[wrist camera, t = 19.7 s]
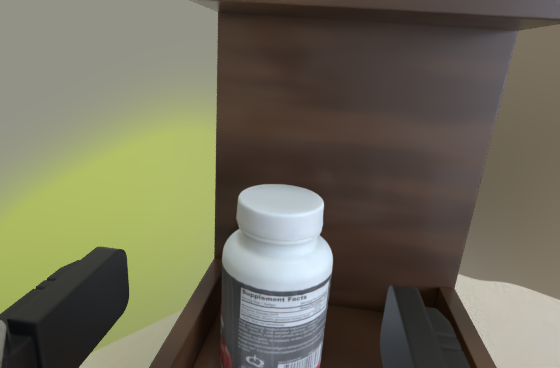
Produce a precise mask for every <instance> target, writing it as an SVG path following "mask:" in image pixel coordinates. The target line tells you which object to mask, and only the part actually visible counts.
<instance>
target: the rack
mask: <svg viewBox="0 0 560 368" xmlns="http://www.w3.org/2000/svg"><path fill="white" fill-rule="evenodd" d="M191 1H193V2H196V3H198V4H200V5H203V6H205V7H207V8H210V9H212V10H215V11H217V12H218V59H217V60H218V62H217V123H216V125H217V126H216V127H217V128H216V188H215V252H214V260H213V262H212V263H211V265H210V266H209V268H208V270H207V271H206V273H205V275H204V276H203V278H202V280H201V281H200V283H199V285H198V286H197V288H196V290H195V291H194V293H193V295H192V296H191V298H190V300H189V301H188V303H187V305H186V307H185V308H184V310H183V311H182V313H181V315H180V316H179V318H178V320H177V321H176V323H175V325H174V326H173V328H172V330H171V332H170V333H169V335H168V337H167V338H166V340H165V342H164V343H163V345H162V347H161V348H160V350H159V352H158V353H157V355H156V357H155V358H154V360H153V362H152V363H151V365H150V367H149V368H221V362H220V342H221V332H220V331H221V304H222V255H223V248H224V245H225V243H226V241H227V240H228V238H229V237H230V236H231V235H232V234H233V233H234V232H235V231H237V230H238V229H239V226H238V222H237V219H236V216H237V206H238V197H239V195H240V193H241V192H242V191H243V190H245V189H247V188H250V187H253V186H257V185H263V184H285V185H292V186H297V187H301V188H305V189H308V190H310V191H313V192H314V193H316V194H318V195H319V196H320V197H321V198H322V199H323V202H324V210H323V226H322V231H321V233H320V236H321V237H322V238H323V239H324V240H325V241H326V242H327V243H328V245H329V247H330V249H331V251H332V255H333V266H332V274H331V282H330V291H329V299H328V306H327V313H326V320H325V328H324V336H323V344H322V353H321V361H320V367H319V368H383V364H382V358H381V352H380V333H381V326H382V321H383V315H384V310H385V304H386V299H387V294H388V289H389V286H390V285H398V286H406V287H414V288H418V290H419V292H420V295H421V297H422V300H423V302H424V305H425V307H429V308H436V309H437V310H438V311H439V312H440V313H441V314H442V315H443V316H444V317H445V318H446V319H447V320H448V321H449V322H450V323H451V326H452V328H453V330H454V332H455V334H456V339H458V341H459V343H460V346H461V348H462V351H463V352H464V354H465V357H466V359H467V361H468V363H469V365H470V368H496V366H495V364H494V362H493V360H492V358H491V356H490V355H489V353H488V351H487V349H486V347H485V345H484V343H483V341H482V340H481V338H480V336H479V334H478V332H477V330H476V328H475V326H474V325H473V323H472V321H471V319H470V317H469V315H468V313H467V311H466V310H465V308H464V306H463V304H462V302H461V300H460V298H459V296H458V295H457V293H456V291H455V289H454V288H455V284H456V280H457V276H458V271H459V267H460V263H461V259H462V255H463V251H464V247H465V243H466V239H467V235H468V231H469V227H470V223H471V219H472V215H473V211H474V207H475V203H476V199H477V195H478V191H479V187H480V183H481V179H482V174H483V171H484V167H485V163H486V159H487V155H488V151H489V147H490V143H491V139H492V135H493V131H494V127H495V122H496V118H497V115H498V110H499V106H500V102H501V98H502V94H503V90H504V86H505V82H506V78H507V74H508V70H509V66H510V62H511V58H512V54H513V50H514V46H515V42H516V38H517V34H518V31H519V30H525V29H532V28H537V27H544V26H550V25H556V24H560V0H191Z"/></svg>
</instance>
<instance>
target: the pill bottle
mask: <svg viewBox="0 0 560 368" xmlns="http://www.w3.org/2000/svg"><path fill="white" fill-rule="evenodd" d="M323 210H324V202H323V199H322V198H321V197H320V196H319V195H318V194H316V193H314V192H313V191H310V190H308V189H305V188H301V187H297V186H292V185H285V184H263V185H257V186H253V187H250V188H247V189H245V190H243V191H242V192H241V193H240V195H239V197H238V206H237V216H236V219H237V222H238V226H239V229H238V230H237V231H235V232H234V233H233V234H232V235H231V236H230V237H229V238H228V240H227V241H226V243H225V245H224V248H223V255H222V304H221V331H220V332H221V342H220V362H221V368H319V367H320V361H321V353H322V344H323V336H324V328H325V320H326V313H327V306H328V299H329V291H330V282H331V274H332V266H333V255H332V251H331V249H330V247H329V245H328V243H327V242H326V241H325V240H324V239H323V238H322V237H321V236H320V233H321V231H322V226H323Z"/></svg>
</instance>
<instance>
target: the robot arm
mask: <svg viewBox="0 0 560 368" xmlns="http://www.w3.org/2000/svg"><path fill="white" fill-rule="evenodd" d="M128 299H129V283H128V268H127V256H126V253H125V251H124V250H122V249H114V248H107V247H97V248H95V249H94V250H93V251H91V252H90V253H89V254H87V255H86V256H85V257H84V258H82V259H81V260H77V261H75V262H73V263H71V264H68V265H66V266H64V267H62V268H60V269H59V270H57V271H56V272H55V273H53V274H52V275H51V276H49V277H48V278H47V280H45V281H43V282H42V283H40V284H39V285H38V286H36V289H33V290H31V291H30V292H29V293H27V294H26V295H25V296H23V297H22V298H21V299H19V300H18V301H17V302H15V303H14V304H13V305H12V306H10V307H9V308H8V309H6V310H5V311H4V312H3V313H1V314H0V368H79V366H80V365H81V364H82V363H83V362H84V360H85V359H86V358H87V357H88V355H89V354H90V353H91V352H92V351H93V349H94V348H95V347H96V346H97V344H98V343H99V342H100V341H101V340H102V338H103V337H104V336H105V335H106V334H107V332H108V331H109V330H110V329H111V328H112V326H113V325H114V324H115V323H116V321H117V320H118V319H119V318H120V316H121V315H122V314H123V313H124V311H125V309H126V306H127V304H128ZM380 352H381V358H382V364H383V368H470V365H469V363H468V361H467V359H466V357H465V354H464V352H463V351H462V348H461V346H460V343H459V341H458V339H456V334H455V332H454V330H453V328H452V326H451V323H450V322H449V321H448V320H447V319H446V318H445V317H444V316H443V315H442V314H441V313H440V312H439V311H438V310H437V309H436V308H429V307H425V305H424V302H423V300H422V297H421V295H420V292H419V290H418V288H414V287H406V286H398V285H390V286H389V289H388V294H387V299H386V304H385V310H384V315H383V321H382V326H381V333H380Z"/></svg>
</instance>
